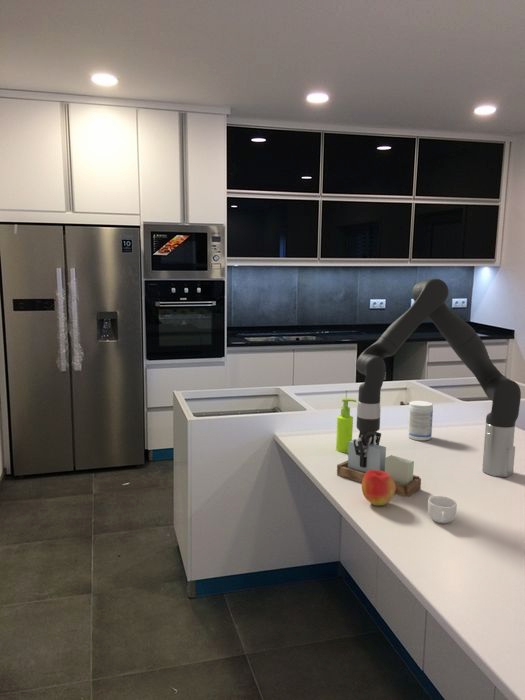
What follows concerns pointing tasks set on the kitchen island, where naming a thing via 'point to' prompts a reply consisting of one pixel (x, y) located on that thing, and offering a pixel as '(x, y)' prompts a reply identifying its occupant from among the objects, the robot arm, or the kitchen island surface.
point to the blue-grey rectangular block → (374, 458)
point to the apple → (378, 487)
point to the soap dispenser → (344, 427)
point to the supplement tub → (420, 420)
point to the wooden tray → (400, 488)
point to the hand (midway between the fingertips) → (366, 465)
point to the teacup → (441, 509)
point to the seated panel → (399, 469)
